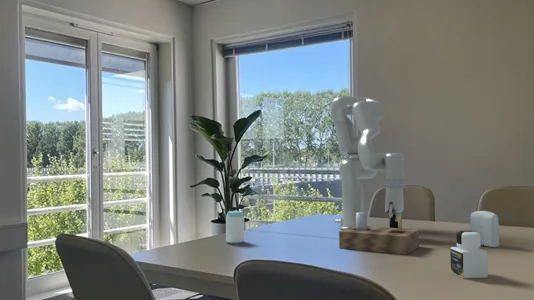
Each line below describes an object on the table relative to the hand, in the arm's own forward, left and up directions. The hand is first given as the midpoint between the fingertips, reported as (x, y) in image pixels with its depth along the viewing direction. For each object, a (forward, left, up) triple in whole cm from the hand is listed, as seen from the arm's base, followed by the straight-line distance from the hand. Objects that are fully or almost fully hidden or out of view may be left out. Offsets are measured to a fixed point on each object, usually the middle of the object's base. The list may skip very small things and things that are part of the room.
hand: (395, 230), depth 187 cm
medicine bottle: (+34, -46, -4) cm, 57 cm away
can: (-52, -36, -3) cm, 63 cm away
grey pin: (-7, -20, -1) cm, 21 cm away
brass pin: (0, 0, -3) cm, 3 cm away
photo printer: (+32, +1, -4) cm, 32 cm away
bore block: (0, -20, -3) cm, 20 cm away
